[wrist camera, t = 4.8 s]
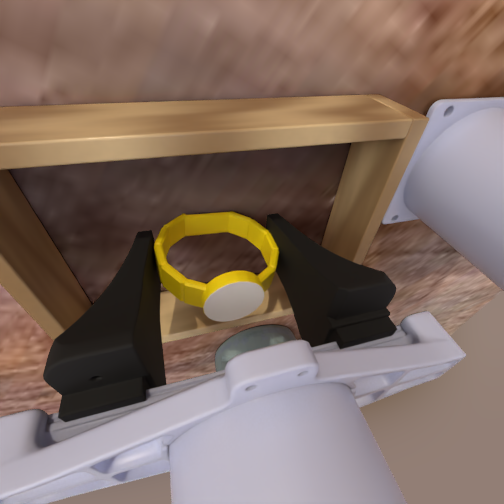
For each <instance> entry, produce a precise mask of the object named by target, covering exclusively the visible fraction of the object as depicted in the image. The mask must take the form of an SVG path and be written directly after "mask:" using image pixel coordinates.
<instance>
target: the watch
mask: <svg viewBox="0 0 504 504" xmlns="http://www.w3.org/2000/svg"><path fill="white" fill-rule="evenodd" d="M222 232H229V233H232V234H235V235H237V236H240V237H243V238H246V239H247V240H249V241H250V242H251V243H252V244H253V245H255V246H256V247H257V248H258V249H259V250H261V252H262V255H263V257H264V259H265V262H266V264H267V268H266V269H265V270H264V271H262V272H261V273H260V274H259V275H258V276H257V275H255V274H254V273H252V272H248V271H231V272H227V273H224V274H222V275H219V276H217V277H215V278H214V279H213V280H211V281H210V282H209V283H208V284H205V283H202V282H198V281H194V280H190V279H187V278H186V277H185V276H183V275H182V274H181V273H179V272H178V271H177V270H176V269H174V268H173V267H172V266H171V265H169V264H168V262H167V259H166V256H167V254H168V251H169V249H170V247H171V246H172V245H173V244H175V243H176V242H178V241H179V240H180V239H182V238H183V237H184V236H193V235H202V234H212V233H222ZM278 250H279V248H278V246H277V245H276V243H275V241H274V239H273V237H272V235H271V233H269V231H268V230H267V229H265V228H264V227H263V226H262V225H260V224H259V223H258V222H256V221H255V220H254V219H253V220H252V219H251V218H250V217H247V216H244V215H241V214H238V213H235V212H232V211H231V212H219V213H206V214H192V215H185V214H182V215H180V216H178V217H177V218H175V219H174V220H172V221H170V222H169V223H167V224H166V225H164V227H163V228H161V230H160V232H159V235H158V237H157V239H156V241H155V243H154V252H155V261H156V267H157V271H158V275H159V278H160V282H161V283H162V284H163V287H165V288H166V289H167V290H168V291H169V292H171V293H172V294H173V295H174V296H175V297H176V298H178V299H179V300H180V301H184V303H186V304H190V305H194V306H197V307H201V308H203V312H204V314H205V315H206V316H207V317H208V318H210V319H212V320H214V321H222V322H224V321H233V320H236V319H240V318H242V317H245V316H247V315H249V314H250V313H252V312H253V311H255V310H256V309H257V308H258V307H259V306H260V305H261V303H262V301H263V300H264V297H265V291H266V290H267V289H268V288H269V287H270V285H271V283H272V280H273V277H274V274H275V270H276V267H277V261H278V256H279V251H278Z"/></svg>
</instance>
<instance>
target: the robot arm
mask: <svg viewBox="0 0 504 504" xmlns="http://www.w3.org/2000/svg"><path fill="white" fill-rule="evenodd" d="M446 109H447V110H446ZM426 117H428V118H429V121H428V123H427V126H426V128H425V130H424V132H423V134H422V136H421V138H420V141H419V143H418V145H417V147H416V149H415V151H414V153H413V156H412V158H411V160H410V162H409V164H408V166H407V168H406V170H405V173H404V175H403V177H402V179H401V181H400V183H399V185H398V188H397V190H396V192H395V194H394V196H393V198H392V200H391V202H390V205H389V207H388V209H387V211H386V213H385V215H384V217H383V220H382V222H381V223H383V224H391V223H397V222H403V221H410V220H416V219H420V220H421V221H423V222H424V223H425V224H426V225H427V226H428V227H430V228H431V229H432V230H433V231H434V232H435V233H437V234H438V235H439V236H440V237H441V238H442V239H444V240H445V241H446V242H447V243H448V244H449V245H451V246H452V247H453V248H454V249H455V250H456V251H458V252H459V253H460V254H461V255H462V256H463V257H465V258H466V259H467V260H468V261H469V262H470V263H472V264H473V265H474V266H475V267H476V268H477V269H479V270H480V271H481V272H482V273H483V274H484V275H486V276H487V277H488V278H489V279H490V280H491V281H493V282H494V283H495V284H496V285H497V286H498V287H500V288H501V289H502V290H503V291H504V97H491V98H467V99H442V100H438V101H436V102H435V103H434V104H433V105H432V106H431V107H430V109H429V110H428V113H427V115H426ZM266 229H267V230H268V231H269V233H271V235H272V237H273V239H274V241H275V243H276V245H277V246H278V248H279V250H278V251H279V256H278V261H277V267H276V272H277V274H278V276H279V278H280V281H281V283H282V285H283V287H284V289H285V291H286V293H287V296H288V299H289V302H290V304H291V307H292V310H293V313H294V316H295V319H296V322H297V325H298V329H299V332H300V335H301V338H302V340H301V339H299V340H291V341H287V342H283V343H279V344H275V345H271V346H267V347H263V348H259V349H255V350H251V351H247V352H244V353H241V354H238V355H236V356H235V357H233V358H232V359H230V360H229V361H228V363H227V365H226V367H225V370H222V371H218V372H214V373H210V374H206V375H202V376H199V377H195V378H191V379H187V380H183V381H179V382H175V383H171V384H167V385H166V378H165V368H164V359H163V348H162V337H161V325H160V295H161V282H160V278H159V275H158V271H157V267H156V261H155V252H154V243H155V241H154V238H153V234H152V230H149V231H142V232H138V233H137V235H136V238H135V240H134V243H133V245H132V247H131V249H130V251H129V253H128V255H127V257H126V259H125V261H124V263H123V265H122V266H121V268H120V270H119V271H118V273H117V274H116V276H115V277H114V279H113V280H112V282H111V283H110V285H109V286H108V287H107V289H106V290H105V291H104V292H103V294H102V295H101V296H100V297H99V298H98V300H97V301H96V302H95V303H94V304H93V305H92V306H91V307H90V308H89V309H88V310H87V311H86V312H85V313H84V314H83V315H82V316H81V317H80V318H79V319H78V320H77V321H76V322H75V323H74V324H72V325H71V326H70V327H69V328H68V329H66V330H65V331H64V332H63V333H62V334H60V335H59V336H58V337H57V338H55V339H54V342H53V345H52V347H51V349H50V352H49V355H48V358H47V362H46V366H45V370H44V374H43V377H44V380H45V381H46V382H47V383H48V384H49V385H50V386H51V387H53V388H54V389H55V390H56V391H57V392H59V393H60V394H61V395H62V399H61V404H60V409H59V412H58V413H54V414H50V415H48V414H47V413H46V412H45V411H43V410H40V409H32V410H26V411H22V412H18V413H14V414H10V415H6V416H2V417H0V504H47V503H50V502H54V501H57V500H61V499H64V498H67V497H71V496H75V495H79V494H83V493H86V492H90V491H94V490H98V489H102V488H106V487H110V486H114V485H118V484H122V483H126V482H130V481H134V480H138V479H141V478H145V477H149V476H153V475H157V474H161V473H165V472H169V471H170V479H171V500H172V504H407V502H406V500H405V498H404V496H403V494H402V492H401V490H400V488H399V486H398V484H397V482H396V480H395V478H394V476H393V474H392V472H391V470H390V468H389V466H388V464H387V462H386V460H385V458H384V457H383V454H382V452H381V450H380V449H379V447H378V444H377V442H376V440H375V438H374V436H373V434H372V432H371V430H370V428H369V426H368V424H367V422H366V420H365V419H364V416H363V415H362V412H361V410H360V408H361V407H363V406H366V405H368V404H370V403H373V402H375V401H378V400H380V399H383V398H385V397H388V396H390V395H393V394H395V393H398V392H400V391H403V390H405V389H408V388H411V387H413V386H416V385H419V384H421V383H425V382H428V381H431V380H433V379H437V378H438V377H440V376H441V375H442V374H444V373H445V372H446V371H448V370H449V369H450V368H452V367H453V366H454V365H456V364H457V363H458V362H459V361H461V360H462V359H463V358H464V357H466V354H465V353H464V352H463V350H462V349H461V348H460V347H459V346H458V345H457V343H456V342H455V341H454V340H453V339H452V338H451V336H450V335H449V334H448V333H447V332H446V331H445V329H444V328H443V327H442V326H441V325H440V324H439V323H438V321H437V320H436V319H435V318H434V317H433V316H432V314H431V313H430V312H429V311H423V312H419V313H415V314H411V315H409V316H407V317H405V318H404V319H403V320H402V322H401V323H400V325H397V326H395V325H394V324H393V322H392V321H391V320H390V318H389V317H388V316H389V315H390V312H389V311H388V309H387V308H386V307H387V306H388V304H389V303H390V301H391V300H392V298H393V296H394V294H395V292H396V287H395V285H394V284H393V282H392V281H391V280H390V279H389V278H388V276H387V275H386V274H385V273H384V272H382V271H378V270H375V269H372V268H368V267H365V266H363V265H360V264H357V263H354V262H352V261H350V260H347V259H345V258H343V257H341V256H339V255H336V254H334V253H333V252H331V251H329V250H327V249H325V248H324V247H322V246H320V245H319V244H317V243H315V242H314V241H312V240H311V239H310V238H308V237H307V236H305V235H304V234H303V233H301V232H300V231H299V230H297V229H296V228H295V227H294V226H292V225H291V224H290V223H289V222H287V221H286V220H285V219H284V218H283V217H281V216H280V215H279V214H278V213H277V214H269V215H267V221H266Z"/></svg>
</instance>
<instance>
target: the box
mask: <svg viewBox="0 0 504 504" xmlns="http://www.w3.org/2000/svg"><path fill="white" fill-rule="evenodd" d="M428 121H429V118H428V117H426V116H424V115H422V114H420V113H418V112H415V111H413V110H411V109H409V108H407V107H405V106H403V105H401V104H399V103H396V102H394V101H392V100H390V99H388V98H386V97H384V96H382V95H380V94H372V95H345V96H315V97H285V98H255V99H225V100H195V101H165V102H135V103H106V104H76V105H46V106H16V107H0V284H1V285H2V286H3V287H4V288H5V289H6V290H7V291H8V292H9V294H10V295H11V296H12V297H13V298H14V299H15V300H16V301H17V302H18V303H19V304H20V305H21V306H22V307H23V308H24V310H25V311H26V312H27V313H28V314H29V315H30V316H31V317H32V318H33V319H34V320H35V321H36V322H37V323H38V324H39V326H40V327H41V328H42V329H43V330H44V331H45V332H46V333H47V334H48V335H49V336H50V337H51V338H52V339H53V340H54V339H55V338H57V337H58V336H59V335H60V334H62V333H63V332H64V331H65V330H66V329H68V328H69V327H70V326H71V325H72V324H74V323H75V322H76V321H77V320H78V319H79V318H80V317H81V316H82V315H83V314H84V313H85V312H86V311H87V310H88V309H89V308H90V307H91V306H92V304H91V302H90V301H89V299H88V298H87V296H86V294H85V293H84V291H83V290H82V288H81V286H80V285H79V283H78V282H77V280H76V278H75V277H74V275H73V274H72V272H71V270H70V269H69V267H68V266H67V264H66V262H65V261H64V259H63V258H62V256H61V254H60V253H59V251H58V250H57V248H56V246H55V245H54V243H53V242H52V240H51V238H50V237H49V235H48V234H47V232H46V230H45V229H44V227H43V226H42V224H41V222H40V221H39V219H38V218H37V216H36V214H35V213H34V211H33V210H32V208H31V206H30V205H29V203H28V202H27V200H26V198H25V197H24V195H23V194H22V192H21V190H20V189H19V187H18V185H17V184H16V182H15V181H14V179H13V177H12V176H11V174H10V173H9V171H8V169H17V168H30V167H43V166H55V165H68V164H81V163H94V162H107V161H120V160H133V159H146V158H159V157H172V156H185V155H198V154H211V153H223V152H236V151H249V150H262V149H275V148H288V147H301V146H314V145H327V144H340V143H351V147H350V150H349V153H348V157H347V160H346V163H345V167H344V170H343V173H342V177H341V180H340V184H339V187H338V190H337V194H336V197H335V200H334V204H333V207H332V210H331V214H330V217H329V221H328V224H327V227H326V231H325V234H324V237H323V241H322V244H321V246H322V247H324V248H325V249H327V250H329V251H331V252H333V253H334V254H336V255H339V256H341V257H343V258H345V259H347V260H350V261H352V262H354V263H357V264H360V265H361V264H362V262H363V260H364V258H365V256H366V254H367V252H368V249H369V247H370V245H371V243H372V241H373V239H374V237H375V235H376V232H377V230H378V228H379V226H380V224H381V222H382V220H383V217H384V215H385V213H386V211H387V209H388V207H389V205H390V202H391V200H392V198H393V196H394V194H395V192H396V190H397V188H398V185H399V183H400V181H401V179H402V177H403V175H404V173H405V170H406V168H407V166H408V164H409V162H410V160H411V158H412V156H413V153H414V151H415V149H416V147H417V145H418V143H419V141H420V138H421V136H422V134H423V132H424V130H425V128H426V126H427V123H428ZM256 275H257V276H258V275H259V274H256ZM207 284H208V283H207ZM290 314H294V313H293V310H292V307H291V304H290V302H289V299H288V296H287V293H286V291H285V289H284V287H283V285H282V283H281V281H280V278H279V276H278V274H277V272H276V271H275V274H274V277H273V280H272V283H271V285H270V287H269V288H268V289H267V290H266V291H265V297H264V300H263V301H262V303H261V305H260V306H259V307H258V308H257V309H256V310H255V311H253V312H252V313H250V314H249V315H247V316H245V317H242V318H240V319H236V320H233V321H224V322H222V321H214V320H212V319H210V318H208V317H207V316H206V315H205V314H204V312H203V308H201V307H197V306H194V305H190V304H186V303H184V301H180V300H179V299H178V298H176V297H175V296H174V295H173V294H172V293H171V292H169V291H163V292H161V295H160V325H161V337H162V343H166V342H170V341H174V340H179V339H183V338H188V337H192V336H197V335H201V334H206V333H210V332H215V331H219V330H223V329H228V328H232V327H237V326H241V325H246V324H250V323H255V322H259V321H264V320H268V319H272V318H277V317H281V316H286V315H290Z"/></svg>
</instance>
